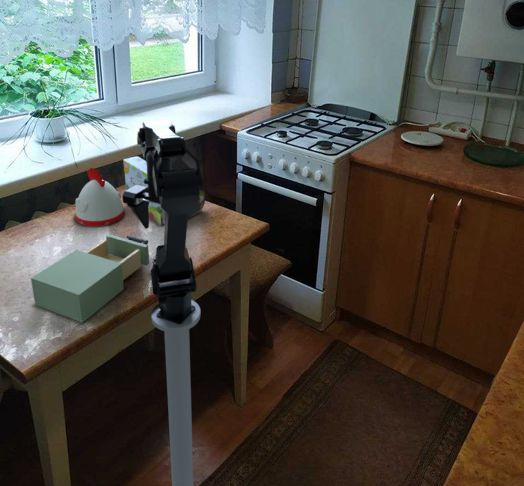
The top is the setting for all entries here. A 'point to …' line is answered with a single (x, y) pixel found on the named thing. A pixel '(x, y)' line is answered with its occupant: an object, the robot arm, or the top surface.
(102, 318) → the top surface
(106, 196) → the kitchen timer
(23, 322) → the top surface
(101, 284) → the cabinet
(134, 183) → the snack box
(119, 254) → the drawer
